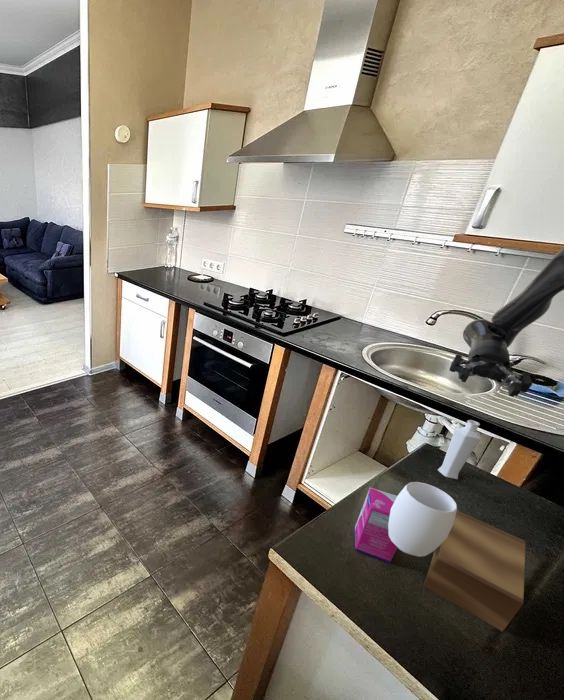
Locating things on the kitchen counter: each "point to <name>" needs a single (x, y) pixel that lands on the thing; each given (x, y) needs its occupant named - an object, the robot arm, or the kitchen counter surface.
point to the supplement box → (375, 526)
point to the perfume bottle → (460, 449)
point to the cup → (421, 518)
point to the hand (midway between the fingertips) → (488, 386)
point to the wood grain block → (480, 571)
